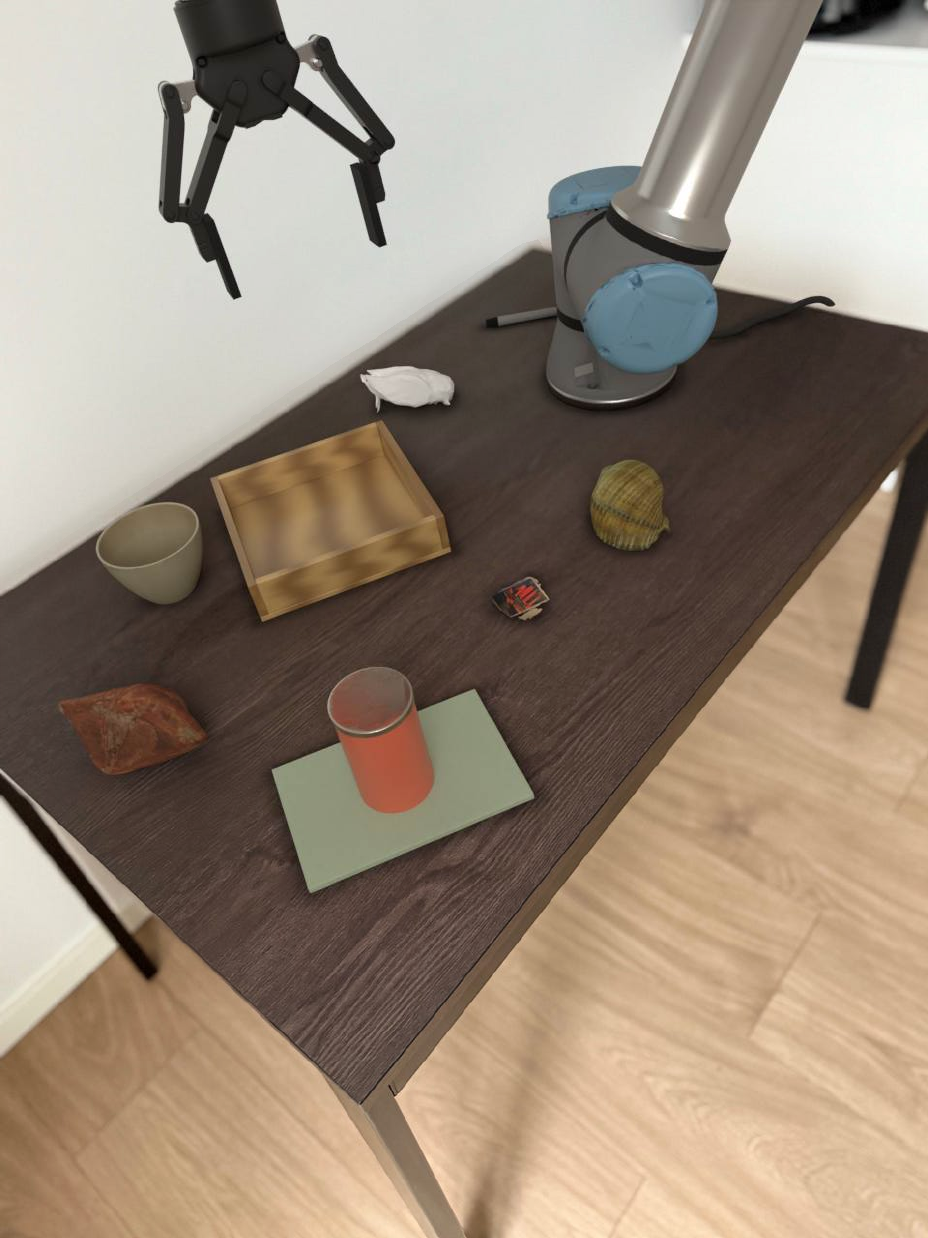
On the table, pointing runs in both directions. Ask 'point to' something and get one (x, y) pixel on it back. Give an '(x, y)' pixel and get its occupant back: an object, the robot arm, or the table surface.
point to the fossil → (133, 726)
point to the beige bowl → (154, 551)
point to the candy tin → (382, 738)
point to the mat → (362, 837)
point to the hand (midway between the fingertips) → (307, 268)
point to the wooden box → (328, 518)
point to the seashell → (628, 506)
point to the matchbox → (521, 598)
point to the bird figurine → (409, 386)
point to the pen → (521, 317)
